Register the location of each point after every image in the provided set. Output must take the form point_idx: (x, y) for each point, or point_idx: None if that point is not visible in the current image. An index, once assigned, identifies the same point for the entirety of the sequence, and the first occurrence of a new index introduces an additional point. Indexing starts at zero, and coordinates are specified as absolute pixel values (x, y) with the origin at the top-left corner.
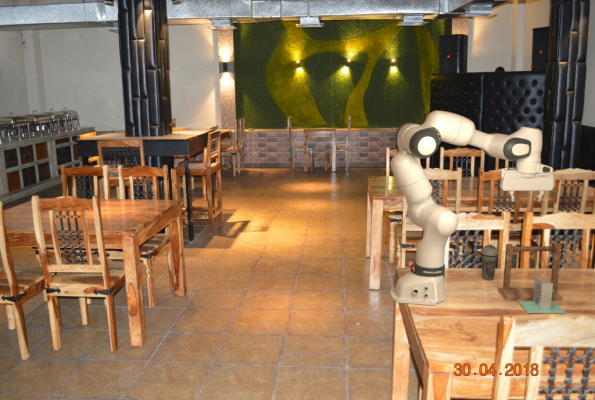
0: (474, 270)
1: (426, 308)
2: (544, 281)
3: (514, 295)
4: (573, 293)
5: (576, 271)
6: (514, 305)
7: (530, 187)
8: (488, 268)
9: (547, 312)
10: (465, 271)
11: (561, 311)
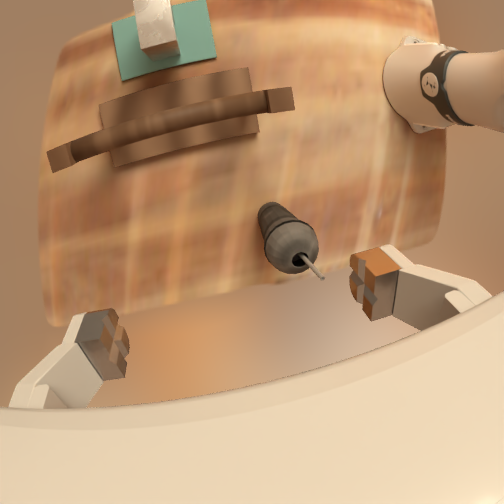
0: None
1: (416, 26)
2: (155, 6)
3: (224, 81)
4: None
5: (66, 310)
6: (229, 41)
7: (206, 454)
8: (283, 211)
9: None
10: None
11: (120, 25)
